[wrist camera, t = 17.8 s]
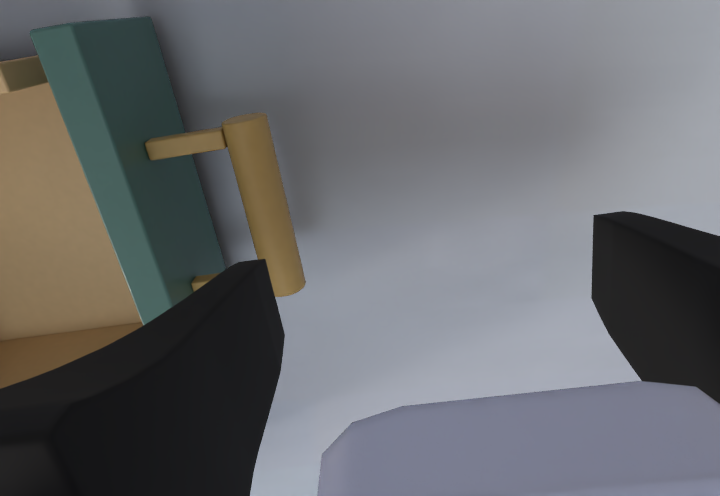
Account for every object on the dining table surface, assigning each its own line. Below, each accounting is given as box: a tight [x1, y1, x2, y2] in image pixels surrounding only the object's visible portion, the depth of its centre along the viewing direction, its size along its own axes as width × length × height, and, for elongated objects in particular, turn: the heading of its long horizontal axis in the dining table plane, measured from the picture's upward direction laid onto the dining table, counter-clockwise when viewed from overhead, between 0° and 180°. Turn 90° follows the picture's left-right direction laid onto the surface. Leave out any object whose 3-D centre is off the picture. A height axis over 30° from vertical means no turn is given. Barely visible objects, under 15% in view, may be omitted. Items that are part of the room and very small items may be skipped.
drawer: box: [0, 16, 305, 389], centre depth 19 cm, size 16×13×6 cm
